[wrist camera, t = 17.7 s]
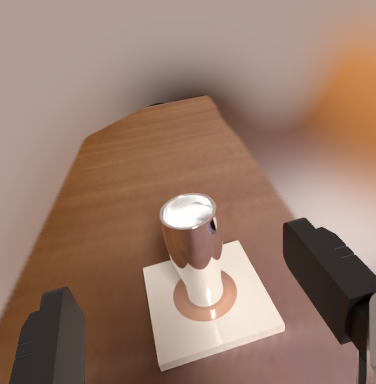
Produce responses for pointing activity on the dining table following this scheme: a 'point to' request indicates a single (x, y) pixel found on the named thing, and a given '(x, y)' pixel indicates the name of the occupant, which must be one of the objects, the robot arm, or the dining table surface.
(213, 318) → the ceramic tile
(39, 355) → the robot arm
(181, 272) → the shiny silver metal cup
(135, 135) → the dining table surface
